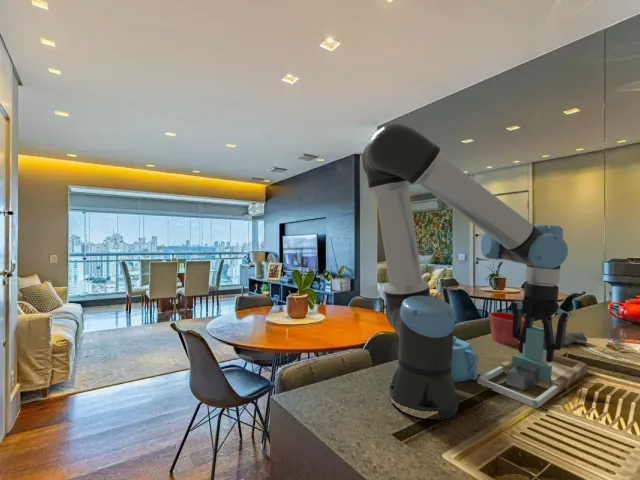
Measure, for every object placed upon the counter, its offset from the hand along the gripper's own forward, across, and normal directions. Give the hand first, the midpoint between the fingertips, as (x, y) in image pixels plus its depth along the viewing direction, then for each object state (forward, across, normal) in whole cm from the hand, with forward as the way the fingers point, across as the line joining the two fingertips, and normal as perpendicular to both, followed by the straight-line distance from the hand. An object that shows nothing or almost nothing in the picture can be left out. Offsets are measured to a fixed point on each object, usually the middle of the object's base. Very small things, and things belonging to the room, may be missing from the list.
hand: (534, 368), depth 91 cm
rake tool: (+1, 0, 0) cm, 1 cm away
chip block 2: (+2, 0, +5) cm, 5 cm away
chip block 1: (+3, 0, +9) cm, 9 cm away
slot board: (+3, 0, -6) cm, 7 cm away
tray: (+3, 0, +11) cm, 12 cm away
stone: (+3, +6, -42) cm, 43 cm away
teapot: (+3, +16, +17) cm, 23 cm away
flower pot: (+3, +17, -22) cm, 28 cm away
